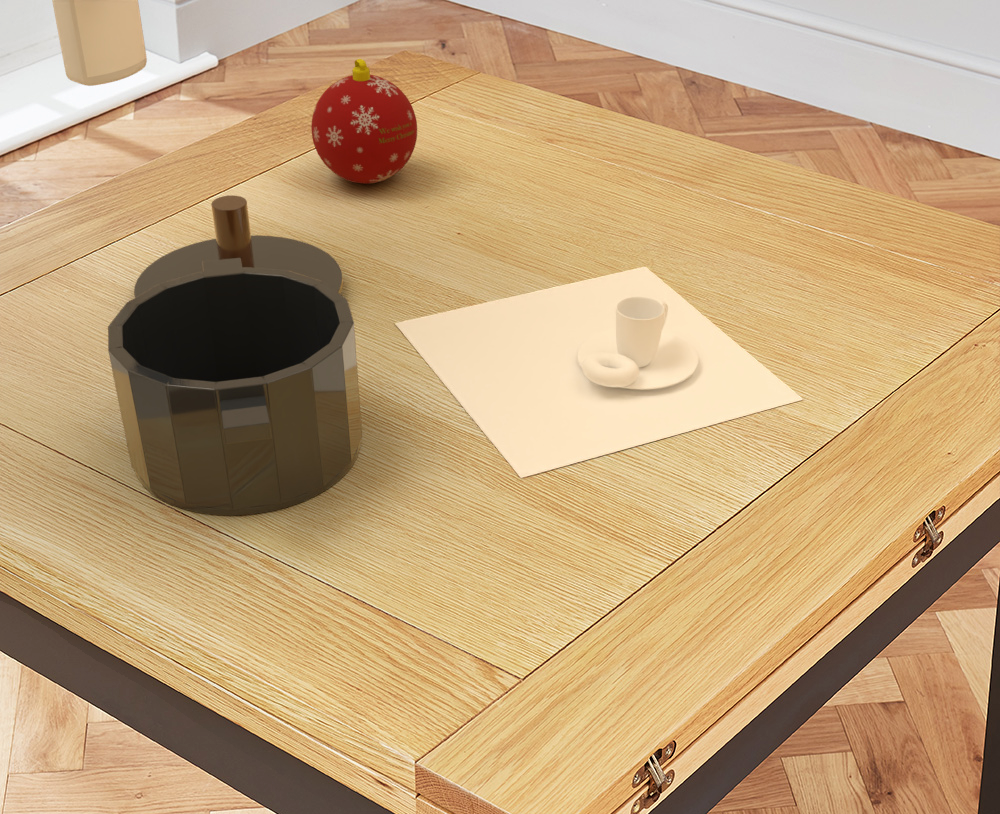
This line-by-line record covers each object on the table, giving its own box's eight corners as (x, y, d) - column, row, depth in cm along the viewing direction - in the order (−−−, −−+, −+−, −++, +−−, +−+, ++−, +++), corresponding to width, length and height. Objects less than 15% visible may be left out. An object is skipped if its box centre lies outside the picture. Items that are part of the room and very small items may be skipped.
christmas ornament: (340, 209, 108) (331, 86, 102) (300, 170, 114) (288, 52, 108) (436, 187, 111) (433, 67, 105) (392, 151, 117) (386, 35, 111)
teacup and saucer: (602, 409, 85) (605, 353, 82) (545, 350, 90) (546, 296, 88) (721, 378, 88) (727, 323, 85) (658, 322, 93) (662, 269, 91)
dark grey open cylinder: (135, 561, 73) (108, 431, 68) (130, 378, 88) (107, 260, 83) (384, 525, 75) (376, 397, 70) (338, 354, 90) (329, 237, 85)
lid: (138, 360, 89) (120, 262, 85) (134, 260, 101) (118, 169, 96) (357, 334, 92) (350, 238, 88) (329, 240, 103) (322, 151, 99)
